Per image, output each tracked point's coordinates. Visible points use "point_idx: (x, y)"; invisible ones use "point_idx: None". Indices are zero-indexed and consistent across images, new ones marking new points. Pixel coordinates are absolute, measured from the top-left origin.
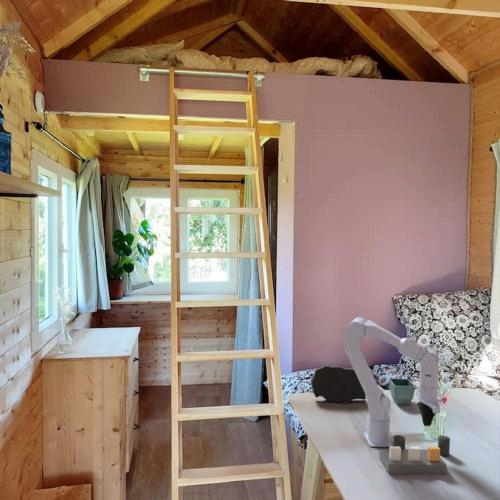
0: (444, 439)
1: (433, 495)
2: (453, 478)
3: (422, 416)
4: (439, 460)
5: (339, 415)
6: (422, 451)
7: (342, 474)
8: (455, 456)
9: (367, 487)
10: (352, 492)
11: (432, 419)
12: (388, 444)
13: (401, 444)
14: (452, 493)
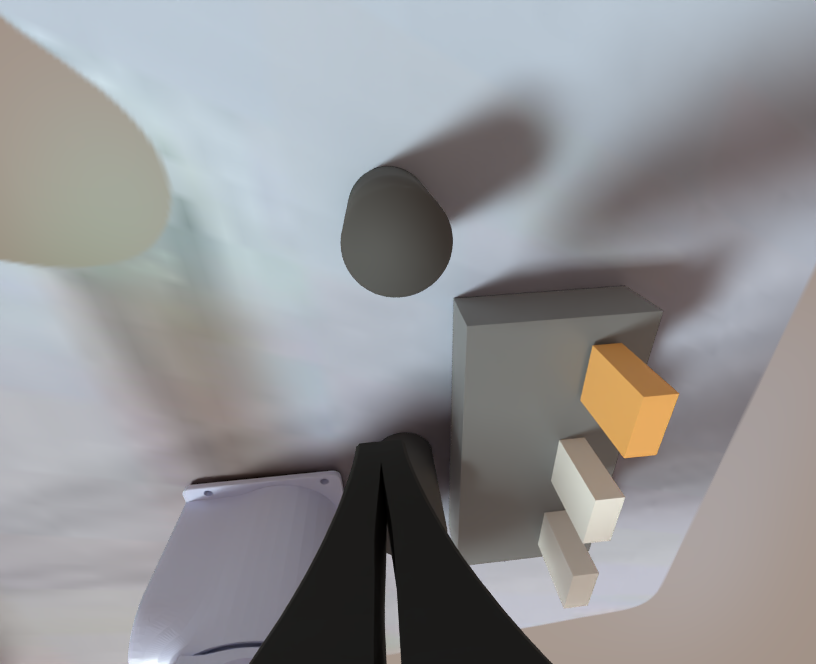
0: (428, 253)
1: (752, 396)
2: (672, 260)
3: (383, 597)
4: (622, 345)
5: (28, 625)
6: (487, 402)
7: (547, 611)
8: (423, 124)
9: (631, 565)
10: (643, 593)
11: (428, 502)
12: (329, 492)
13: (442, 506)
14: (777, 315)
